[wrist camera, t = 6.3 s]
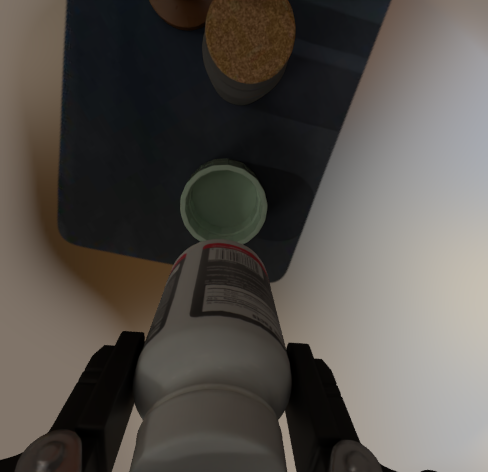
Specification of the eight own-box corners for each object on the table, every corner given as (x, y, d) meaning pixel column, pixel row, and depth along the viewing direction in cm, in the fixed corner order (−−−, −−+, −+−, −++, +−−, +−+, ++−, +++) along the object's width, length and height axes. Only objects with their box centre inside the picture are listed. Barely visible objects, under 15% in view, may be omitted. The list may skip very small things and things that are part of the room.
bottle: (261, 30, 28) (294, -58, 14) (275, 96, 30) (315, 78, 16) (203, 49, 28) (176, -19, 14) (220, 112, 30) (213, 108, 16)
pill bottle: (205, 333, 18) (180, 565, 8) (150, 267, 16) (42, 474, 7) (284, 293, 17) (349, 503, 8) (236, 217, 15) (248, 378, 6)
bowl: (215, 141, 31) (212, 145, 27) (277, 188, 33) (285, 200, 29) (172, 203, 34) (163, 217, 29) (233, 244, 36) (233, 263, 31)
